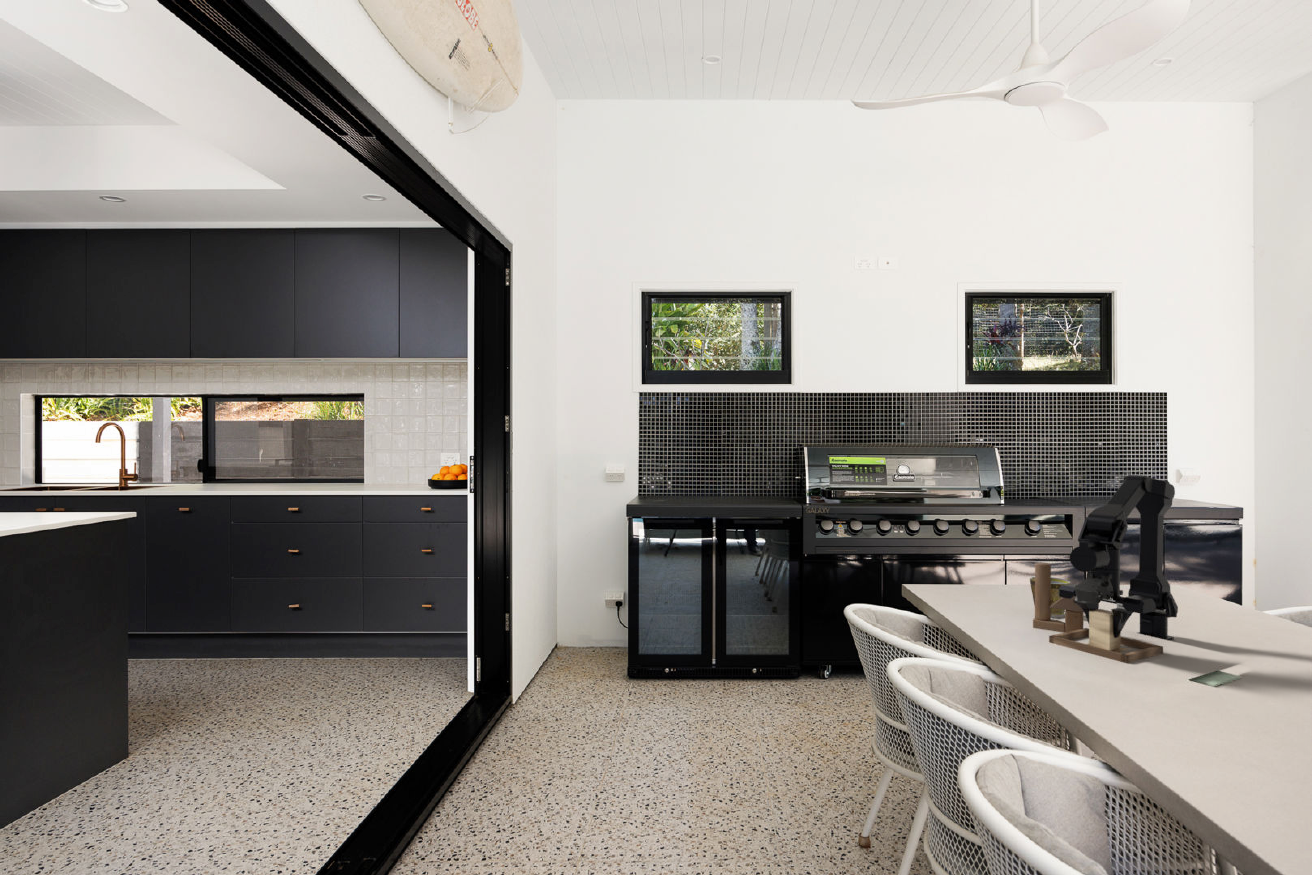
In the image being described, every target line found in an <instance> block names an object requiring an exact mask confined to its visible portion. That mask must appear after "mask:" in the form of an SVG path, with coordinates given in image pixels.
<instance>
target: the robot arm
mask: <svg viewBox="0 0 1312 875" xmlns="http://www.w3.org/2000/svg"><path fill="white" fill-rule="evenodd" d="M1175 494H1176V490H1175V486H1174V485H1173V484H1171V483H1170V482H1169V481H1168V480H1166V479H1156V478H1153V477H1151V476H1147V475H1139V474H1136V475H1135V474H1128V475H1125V476H1124V477H1123V480H1122V484H1120V486H1119V487H1118V489H1116V491H1115V492H1114V493H1113V495H1112V497H1111V498H1110V499H1109V500H1108V501H1107V503H1106V504H1105V505H1103V506H1100V507H1099V506H1098V507H1097V508H1094V509H1093V510H1092V511H1091V512H1090V513H1089V514H1087V516H1086V518H1085V519H1084V522H1083V525H1082V527H1081V530H1080V533H1079V535H1078V538H1077V542H1078V546H1076V547H1074V548H1073V549H1072V551H1071V552H1070V554H1069V561H1070V564H1071V565H1072V567H1073V568H1074V569H1075V570H1077V571H1080V572H1083V573H1086V578H1085V579H1084V580H1082V581H1081V582H1079V583H1078V584H1077V583H1070V584H1066V585H1061V587H1060V588H1059V597H1063V598H1068V599H1072V598H1073V597H1074V596H1075V601H1073V602H1074V603H1075V604H1078V605H1079V606H1080V607H1081V608H1082V610H1083V612H1084V615H1085V618H1086V621H1087V623H1088V624H1089V611H1092V610H1098V609H1100V603H1101V602H1105V603H1108V604H1109V603H1110V604H1115V605H1116V607H1115V608H1111V609H1110V611H1112V613H1113V615H1114V624H1113V634H1114V638H1118V636H1119V635H1120V633H1121V634H1122V631H1123V629H1124V627H1125V625H1126V623H1127V622H1128V620H1129V618H1130V617H1131V616H1132V614H1133V613H1136V614H1139V632H1137V634H1139V635H1143V636H1148V637H1151V638H1156V639H1160V640H1164V641H1170V640H1174V639H1175V636H1174V635H1173V636H1172V635H1168V631H1169V630H1168V629H1169V628H1168V627H1169V624H1168V623H1169V622H1168V621H1169V619H1170V618H1177V616H1178V613H1179V612H1178V611H1179V606H1178V604H1177V603H1176V599H1175V598H1174V596H1173V594H1172V592H1171V584H1170V583H1169V581H1168V580H1167V578H1166V576H1164V573H1163V565H1164V564H1163V562H1164V561H1163V560H1164V559H1163V556H1164V517H1165V515H1166V513H1167V512H1168V511H1169V509H1170V508H1171V507H1172V506H1173V499H1174V497H1175ZM1135 508H1136V510H1137V512H1138V513H1139V514H1140V516H1139V517H1140V519H1139V520H1140V521H1139V552H1138V553H1139V554H1138V556H1139V558H1138V559H1139V560H1138V566H1139V567H1138V572H1137V574H1136V575H1135V576H1134V577H1133V578H1131V579H1130V580H1129V589H1128V593H1127V594H1128V596H1125V597H1124V596H1123V595H1124V591H1123V589H1121V578H1124V572H1121V548H1123V546H1124V545H1123V543H1122V542H1123V539H1124V537H1125V536H1126V533H1127V532H1128V529H1129V528H1128V522H1127V519H1128V517H1129V515H1131V513H1132V511H1133V510H1134V509H1135Z"/></svg>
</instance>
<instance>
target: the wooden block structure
mask: <svg viewBox="0 0 1312 875" xmlns="http://www.w3.org/2000/svg"><path fill="white" fill-rule="evenodd" d="M1034 577H1035V605H1034V618H1033V619H1032V628H1033V629H1038V630H1045V631H1052V632H1057V633H1058V632H1059V633H1065V632H1070V631H1075V630H1080V629H1084V615H1085V613H1084V612H1083V610H1082V608H1081V607H1080V606H1079V605H1078V604H1075V603H1074V602H1073V601H1075V596H1074V597H1073V598H1072V599H1068V598H1063V597H1061V598H1060V599H1059V600H1057V601H1056V602H1055V603H1053V604H1052V605H1051V577H1052V564H1051V563H1049V562H1042V561H1041V562H1040V561H1038V562H1035V563H1034ZM1051 608H1055V609H1062V610H1065V612H1064V619H1065V621H1062V620H1059V619H1055V618H1051Z"/></svg>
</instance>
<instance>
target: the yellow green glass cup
mask: <svg viewBox="0 0 1312 875" xmlns="http://www.w3.org/2000/svg"><path fill="white" fill-rule="evenodd" d="M1029 583H1030V584H1029V585H1030V590H1031V593H1032V594H1031V595H1032V599H1033V603H1034V604H1033V605H1034V606H1035V576H1031V577H1029ZM1066 584H1071V581H1070V580H1067V579H1066V578H1060V577H1053V576H1051V605H1052V604H1053V603H1055V602H1056V601H1057V600H1059V599H1060V598H1061V597H1059V588H1060V587H1061V585H1066ZM1065 611H1066V610H1062V609H1055V608H1051V619H1062V618H1063V617H1065Z"/></svg>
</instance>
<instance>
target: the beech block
mask: <svg viewBox="0 0 1312 875" xmlns="http://www.w3.org/2000/svg"><path fill="white" fill-rule="evenodd" d="M1113 624H1114V615H1113V613H1112V610H1107V609H1101V608H1099V609H1098V610H1092V611H1089V623H1088V629H1089V636H1088V644H1089V645H1091V646H1095V647H1098V648H1102V649H1106V650H1114V649H1118V648H1122V647H1121V645H1122V644H1121V637H1122V632H1121V633H1120V635H1119V636H1118V638H1114V634H1113Z"/></svg>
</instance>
